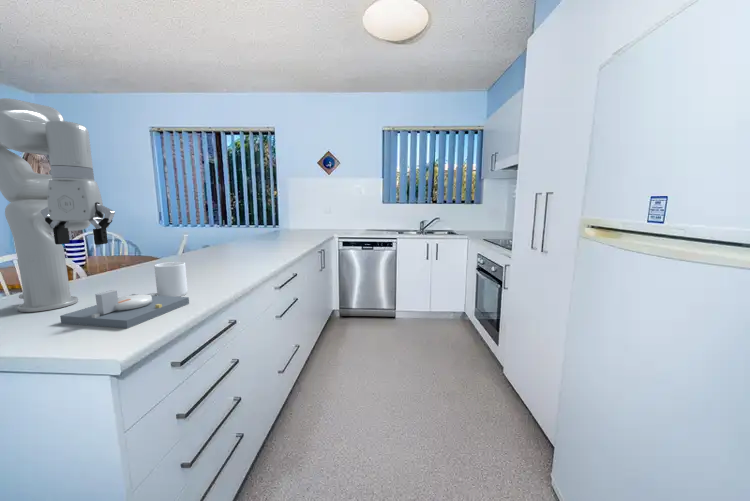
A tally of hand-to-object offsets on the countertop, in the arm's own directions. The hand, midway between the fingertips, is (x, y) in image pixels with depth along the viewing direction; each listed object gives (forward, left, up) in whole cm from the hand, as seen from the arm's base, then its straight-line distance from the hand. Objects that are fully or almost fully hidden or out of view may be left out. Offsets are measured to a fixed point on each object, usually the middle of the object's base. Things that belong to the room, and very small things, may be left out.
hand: (82, 243), depth 78 cm
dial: (+5, +5, -18) cm, 19 cm away
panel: (+5, +7, -20) cm, 22 cm away
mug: (+1, +25, -21) cm, 32 cm away
